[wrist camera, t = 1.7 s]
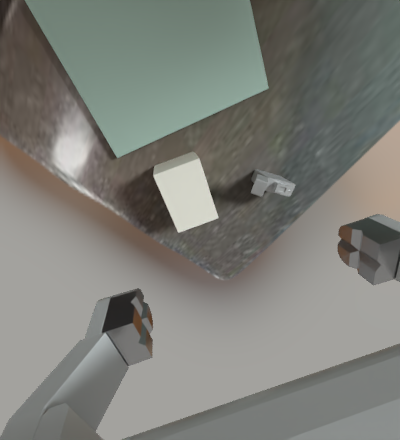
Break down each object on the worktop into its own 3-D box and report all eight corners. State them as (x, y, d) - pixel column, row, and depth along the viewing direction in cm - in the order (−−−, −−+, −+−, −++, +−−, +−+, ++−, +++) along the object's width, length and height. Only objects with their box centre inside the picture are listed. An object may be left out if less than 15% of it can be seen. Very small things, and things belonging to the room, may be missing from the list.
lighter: (280, 175, 32) (313, 194, 25) (275, 186, 33) (306, 207, 26) (235, 164, 30) (258, 180, 23) (231, 175, 31) (252, 195, 24)
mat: (223, -107, 19) (225, -115, 19) (265, 89, 27) (268, 88, 26) (23, -6, 20) (18, -10, 20) (118, 156, 28) (117, 158, 27)
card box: (193, 151, 29) (199, 158, 25) (210, 203, 33) (218, 218, 28) (154, 165, 29) (153, 175, 25) (176, 216, 33) (178, 232, 28)
